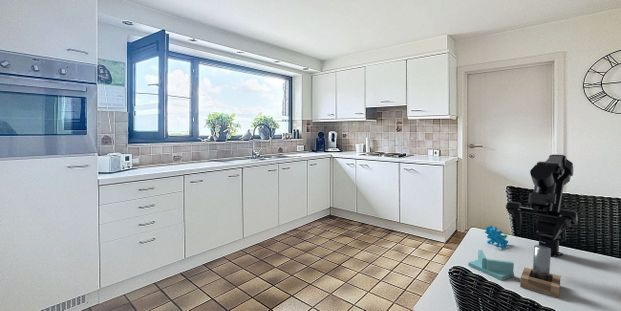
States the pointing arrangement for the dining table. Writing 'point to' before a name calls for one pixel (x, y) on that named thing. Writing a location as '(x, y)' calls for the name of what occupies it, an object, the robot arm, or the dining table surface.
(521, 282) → the block
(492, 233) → the gear
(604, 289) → the dining table surface
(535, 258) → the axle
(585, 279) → the dining table surface
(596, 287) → the dining table surface
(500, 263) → the v block
